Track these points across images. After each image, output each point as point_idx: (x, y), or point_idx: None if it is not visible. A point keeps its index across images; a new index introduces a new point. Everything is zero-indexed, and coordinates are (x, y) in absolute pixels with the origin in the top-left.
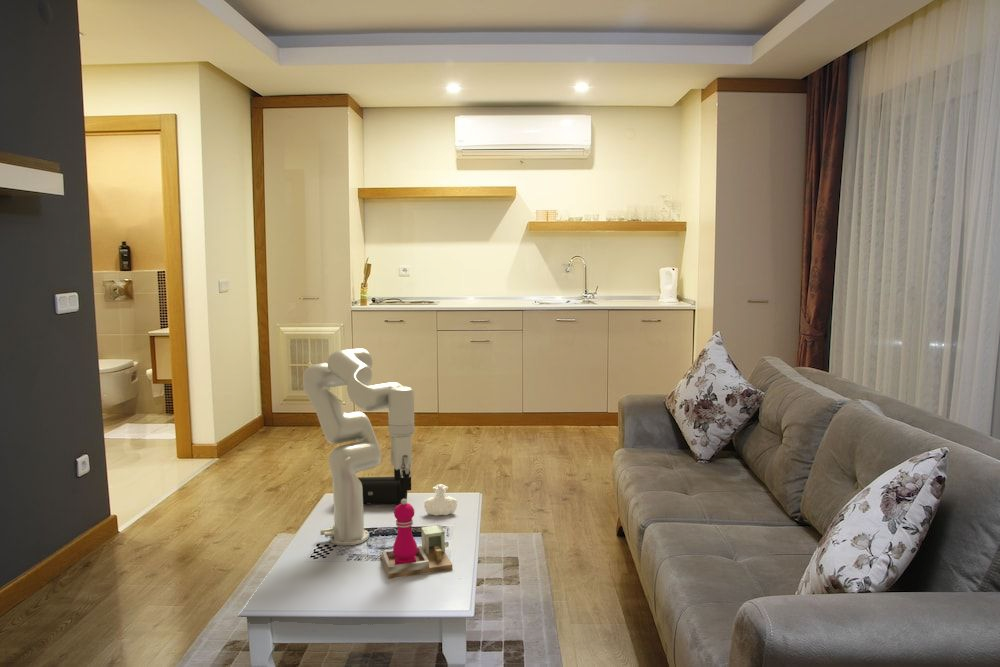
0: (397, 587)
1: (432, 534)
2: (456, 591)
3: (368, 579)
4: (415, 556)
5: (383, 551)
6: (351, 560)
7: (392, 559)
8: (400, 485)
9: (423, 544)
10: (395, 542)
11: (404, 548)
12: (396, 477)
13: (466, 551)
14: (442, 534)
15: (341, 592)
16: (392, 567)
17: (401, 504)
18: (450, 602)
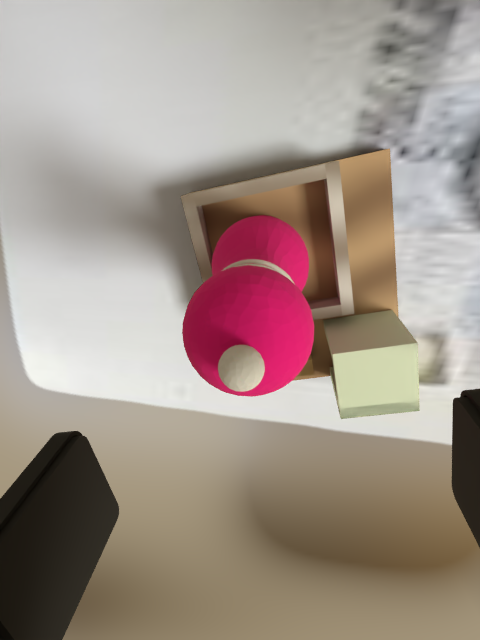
0: (130, 223)
1: (335, 377)
2: (108, 376)
3: (192, 115)
4: (315, 286)
5: (333, 167)
6: (384, 9)
7: (307, 203)
8: (17, 481)
9: (366, 322)
10: (247, 234)
11: (212, 270)
12: (473, 437)
13: (352, 424)
14: (338, 406)
15: (92, 9)
16: (184, 211)
17: (240, 341)
18: (52, 359)
